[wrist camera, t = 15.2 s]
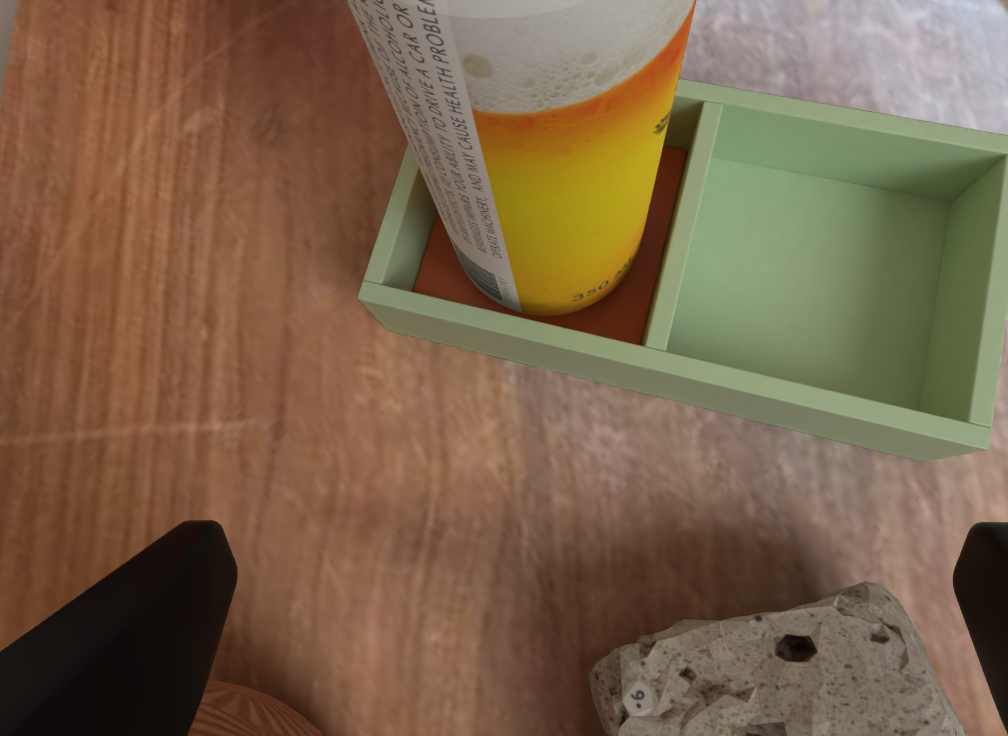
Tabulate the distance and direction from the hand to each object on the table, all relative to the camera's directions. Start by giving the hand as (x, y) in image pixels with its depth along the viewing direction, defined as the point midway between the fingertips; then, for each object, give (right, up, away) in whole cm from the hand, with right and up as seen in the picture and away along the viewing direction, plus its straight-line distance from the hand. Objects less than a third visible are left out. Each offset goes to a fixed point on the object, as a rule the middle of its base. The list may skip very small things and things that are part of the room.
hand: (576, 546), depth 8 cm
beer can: (+1, +7, +15) cm, 16 cm away
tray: (+5, +6, +15) cm, 16 cm away
